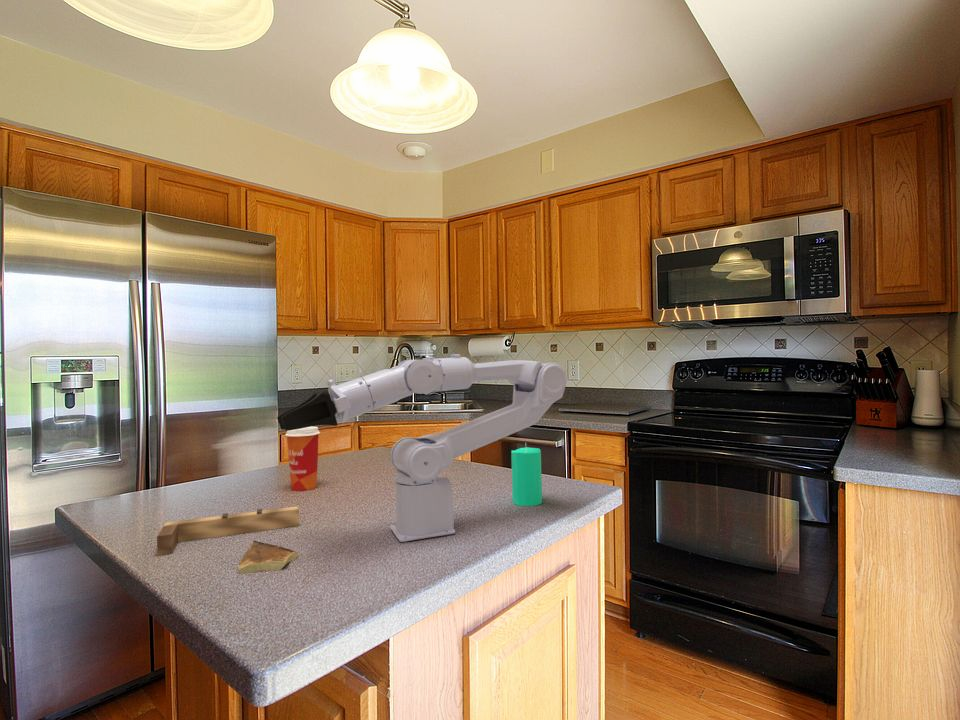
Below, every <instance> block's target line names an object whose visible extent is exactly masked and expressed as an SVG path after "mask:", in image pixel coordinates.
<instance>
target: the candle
mask: <svg viewBox="0 0 960 720" xmlns="http://www.w3.org/2000/svg"><path fill="white" fill-rule="evenodd" d="M525 446H526V447H519V448H517V449H515V450H512V449H511V453H510V454H511V483H512V484H511V489H512V493H511V494H512V497H511V498H512V503H513V504H514V505H517V506H519V507H520V506H522V507H534V506H538V505H541V504H542V503H543V489H542V488H543V487H542V485H543V483H542V481H543V480H542V479H543V478H542V450H541V449H540V448H537V447H527V442H525Z"/></svg>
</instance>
